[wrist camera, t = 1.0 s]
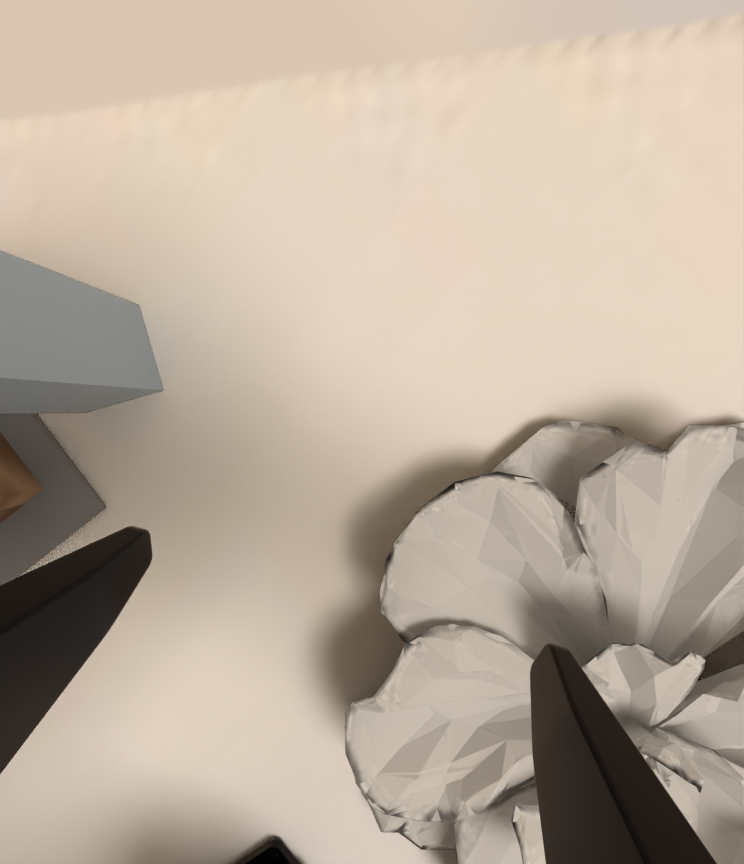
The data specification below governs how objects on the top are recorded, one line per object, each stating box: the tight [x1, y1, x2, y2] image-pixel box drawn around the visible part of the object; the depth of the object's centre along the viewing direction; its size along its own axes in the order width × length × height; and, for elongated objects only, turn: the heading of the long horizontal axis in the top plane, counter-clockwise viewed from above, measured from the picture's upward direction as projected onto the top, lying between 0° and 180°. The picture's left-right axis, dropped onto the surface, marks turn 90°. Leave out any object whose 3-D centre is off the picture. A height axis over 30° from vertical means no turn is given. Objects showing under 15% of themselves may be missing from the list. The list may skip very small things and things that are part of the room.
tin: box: [0, 250, 163, 414], centre depth 17 cm, size 5×5×12 cm
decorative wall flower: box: [345, 420, 744, 864], centre depth 19 cm, size 30×7×30 cm
